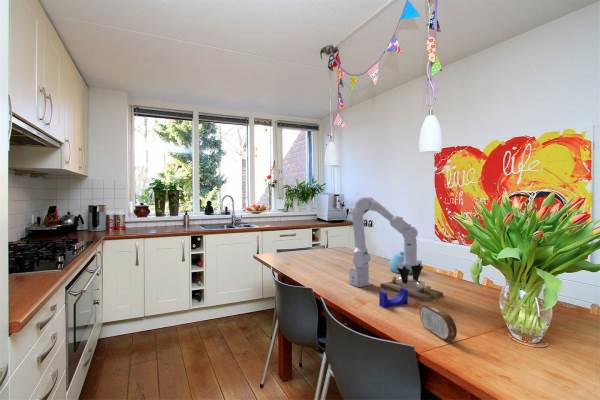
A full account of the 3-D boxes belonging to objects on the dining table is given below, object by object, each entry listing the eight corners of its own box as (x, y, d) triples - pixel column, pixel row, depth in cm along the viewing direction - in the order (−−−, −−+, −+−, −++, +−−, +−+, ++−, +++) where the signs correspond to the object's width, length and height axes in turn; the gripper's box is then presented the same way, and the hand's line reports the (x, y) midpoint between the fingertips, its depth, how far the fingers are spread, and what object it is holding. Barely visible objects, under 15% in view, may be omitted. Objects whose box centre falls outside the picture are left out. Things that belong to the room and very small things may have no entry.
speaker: (457, 344, 91) (457, 317, 91) (448, 345, 91) (448, 318, 90) (425, 324, 106) (426, 300, 106) (418, 324, 105) (418, 300, 105)
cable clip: (400, 300, 129) (400, 286, 129) (407, 304, 125) (407, 290, 125) (377, 304, 125) (377, 290, 125) (383, 308, 121) (383, 293, 121)
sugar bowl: (419, 274, 171) (419, 254, 171) (392, 274, 171) (392, 254, 171) (410, 268, 186) (410, 249, 186) (385, 268, 186) (385, 249, 186)
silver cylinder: (397, 285, 146) (397, 277, 146) (402, 284, 148) (402, 276, 148) (421, 293, 134) (421, 284, 134) (426, 291, 136) (426, 282, 136)
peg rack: (423, 301, 128) (423, 291, 128) (380, 287, 148) (380, 277, 148) (442, 295, 135) (442, 285, 135) (399, 282, 155) (399, 273, 155)
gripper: (407, 256, 134) (407, 286, 134) (427, 252, 142) (427, 281, 142) (394, 253, 140) (394, 282, 140) (414, 250, 148) (414, 277, 148)
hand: (410, 281), depth 141 cm, fingers open, 7 cm apart
